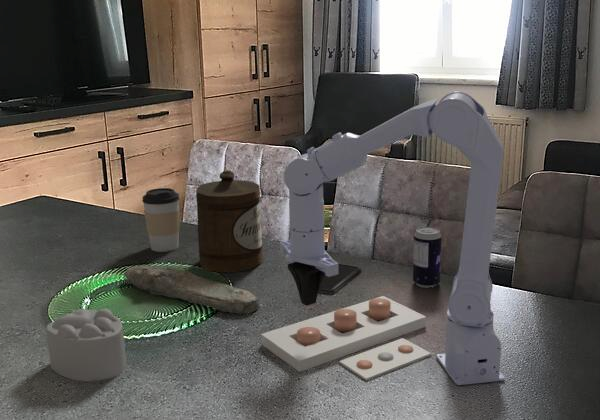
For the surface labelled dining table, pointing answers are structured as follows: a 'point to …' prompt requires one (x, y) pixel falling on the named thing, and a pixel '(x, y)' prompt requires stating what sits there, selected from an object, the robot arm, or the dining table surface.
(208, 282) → the long grey stone
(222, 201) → the wooden container
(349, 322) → the button
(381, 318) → the button
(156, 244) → the coffee cup
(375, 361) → the pattern card
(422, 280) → the beverage can
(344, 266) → the phone
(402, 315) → the button board
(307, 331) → the button
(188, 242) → the dining table surface
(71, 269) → the dining table surface
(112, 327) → the lumpy-topped squat cylinder
